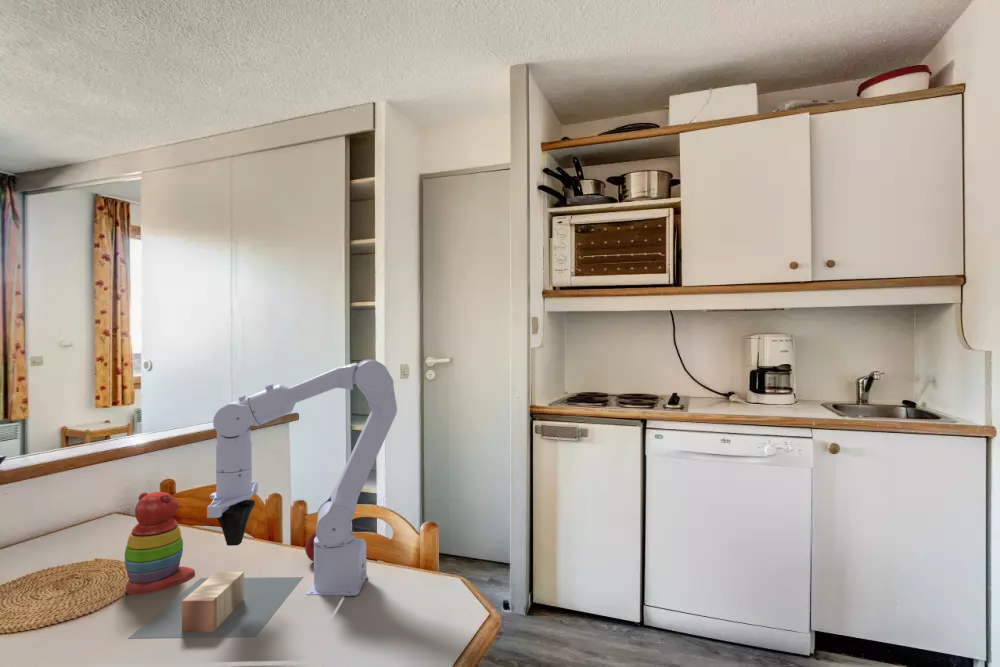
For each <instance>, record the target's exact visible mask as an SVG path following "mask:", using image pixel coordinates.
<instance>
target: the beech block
mask: <svg viewBox="0 0 1000 667" xmlns="http://www.w3.org/2000/svg"><path fill="white" fill-rule="evenodd" d="M244 574H245V572H244V571H220V572H219V571H218V572H217V571H216V572H214V573H213V574H212V575H211V576H209V577H207V578H208V579H207V580H206V581H205V582H204V583H202V584H201V585H200V586H199V587H198V588H197V589H195V590H194V591H193V592H192V593H191V594H189V595H188V596H187V597H186V598H185V599H184V600H182V632H214V630H215V629H216V628H217V627H218V626H219V625H220V624H221V623H222V622H223V621H224V620H225V619H226V618H227V617H228V616H229V615H230V614H231V613H232V611H233V610H234V609H235V608H236V607H237V606H238V605H239V604H240V603H241V602H242V601H243V600H244V578H245V577H244Z"/></svg>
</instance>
